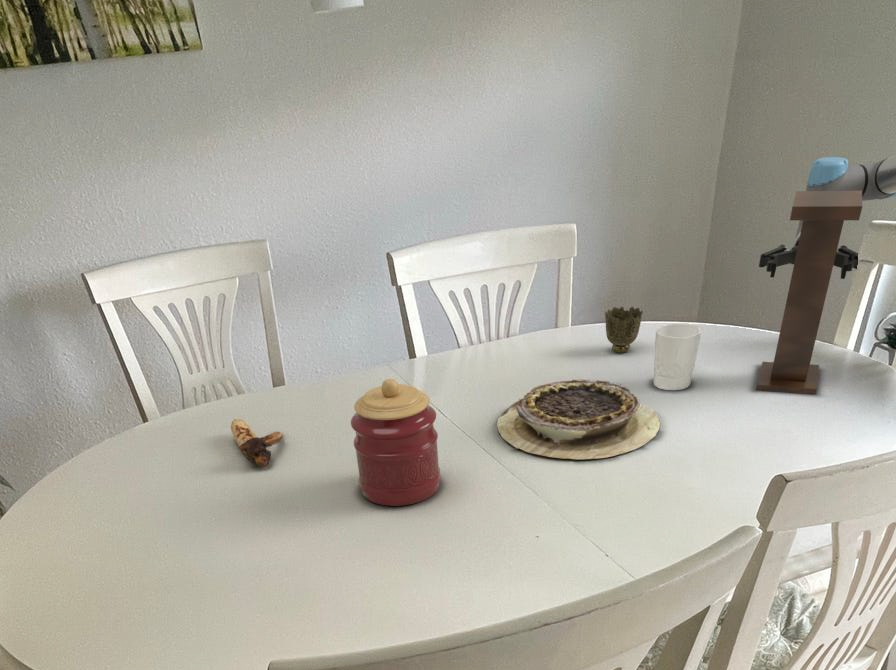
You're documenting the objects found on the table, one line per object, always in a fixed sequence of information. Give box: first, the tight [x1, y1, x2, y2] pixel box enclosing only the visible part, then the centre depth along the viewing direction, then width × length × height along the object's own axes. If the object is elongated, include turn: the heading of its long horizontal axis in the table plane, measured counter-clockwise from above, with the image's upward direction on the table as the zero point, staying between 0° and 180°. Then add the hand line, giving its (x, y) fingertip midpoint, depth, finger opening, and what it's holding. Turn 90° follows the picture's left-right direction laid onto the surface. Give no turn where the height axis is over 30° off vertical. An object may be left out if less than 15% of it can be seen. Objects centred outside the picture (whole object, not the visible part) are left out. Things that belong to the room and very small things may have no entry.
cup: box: [604, 306, 644, 354], centre depth 161 cm, size 8×7×8 cm
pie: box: [496, 378, 661, 460], centre depth 136 cm, size 28×27×5 cm
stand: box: [755, 190, 863, 395], centre depth 136 cm, size 10×12×30 cm
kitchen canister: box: [350, 378, 441, 507], centre depth 119 cm, size 13×13×18 cm
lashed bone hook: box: [230, 418, 283, 468], centre depth 139 cm, size 9×5×18 cm
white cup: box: [652, 323, 702, 391], centre depth 145 cm, size 8×8×10 cm
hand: (808, 271), depth 163 cm, fingers open, 13 cm apart
